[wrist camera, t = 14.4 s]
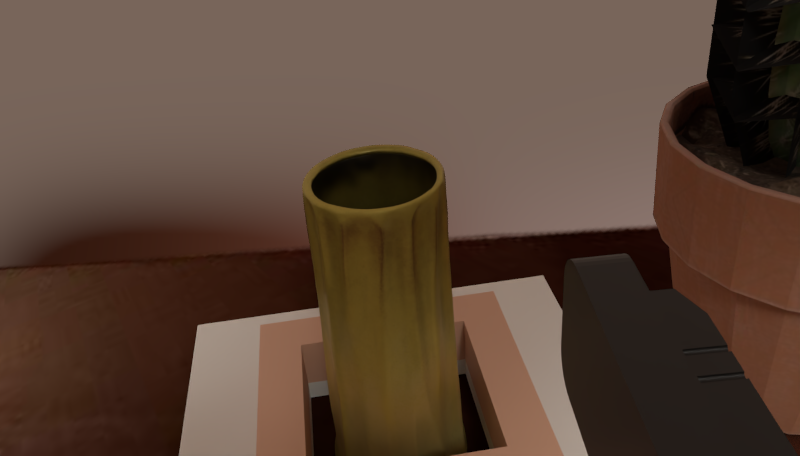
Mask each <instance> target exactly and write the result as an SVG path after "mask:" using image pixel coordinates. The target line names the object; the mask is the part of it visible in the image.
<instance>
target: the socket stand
mask: <svg viewBox="0 0 800 456" xmlns="http://www.w3.org/2000/svg"><path fill="white" fill-rule="evenodd" d="M452 297H453V311H454V325H455V337H456V350H457V365H458V375H460V374H466V377H467V380H468V383H469V386H470V389H471V392H472V396H473V399H474V402H475V405H476V408H477V411H478V414H479V417H480V421H481V424H482V427H483V430H484V433H485V436H486V439H487V442H488V446H489V449H488V450H482V451H476V452H470V453H464V454H458V455H452V456H588V454H587V451H586V448H585V445H584V442H583V439H582V436H581V433H580V430H579V427H578V424H577V421H576V418H575V415H574V412H573V409H572V406H571V403H570V400H569V397H568V394H567V390H566V386H565V382H564V376H563V370H562V360H561V335H562V313H563V311H562V309H561V308H560V306H559V304H558V302H557V300H556V298H555V296H554V295H553V293H552V291H551V289H550V287H549V285H548V284H547V282H546V280H545V278H544V276H543V275H541V276H534V277H528V278H521V279H514V280H507V281H500V282H493V283H486V284H479V285H472V286H465V287H458V288H452ZM324 395H329V390H328V382H327V373H326V363H325V355H324V347H323V338H322V329H321V320H320V312H319V308H313V309H306V310H299V311H293V312H286V313H279V314H272V315H265V316H258V317H251V318H244V319H237V320H230V321H223V322H216V323H210V324H203V325H198V328H197V335H196V342H195V348H194V355H193V362H192V369H191V376H190V382H189V389H188V396H187V403H186V410H185V416H184V423H183V430H182V437H181V444H180V451H179V456H314V445H313V427H312V409H311V397H318V396H324Z"/></svg>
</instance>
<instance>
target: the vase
mask: <svg viewBox="0 0 800 456" xmlns="http://www.w3.org/2000/svg"><path fill="white" fill-rule="evenodd" d="M302 189H303V202H304V210H305V217H306V224H307V231H308V237H309V243H310V249H311V255H312V261H313V268H314V275H315V283H316V290H317V296H318V303H319V312H320V320H321V329H322V338H323V347H324V355H325V363H326V373H327V382H328V390H329V398H330V405H331V410H332V415H333V420H334V425H335V431H336V439H335V456H452V455H458V454H464V453H467V439H466V434H465V429H464V425H463V421H462V407H461V395H460V384H459V375H458V365H457V350H456V337H455V325H454V311H453V297H452V285H451V270H450V254H449V239H448V212H447V198H446V182H445V173H444V169H443V167H442V165H441V163H440V162H439V161H438V160H437V159H436V158H435V157H434V156H432V155H431V154H429V153H427V152H424V151H421V150H418V149H414V148H411V147H407V146H401V145H371V146H364V147H359V148H354V149H349V150H346V151H343V152H340V153H338V154H335V155H333V156H331V157H328V158H327V159H325V160H323V161H321V162H320V163H318V164H317V165H315V166H314V167H313V168H312V169H311V170H310V171H309V172H308V173H307V175H306V176H305V178H304V182H303V185H302Z"/></svg>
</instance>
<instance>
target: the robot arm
mask: <svg viewBox="0 0 800 456" xmlns="http://www.w3.org/2000/svg"><path fill="white" fill-rule="evenodd" d="M561 360H562V370H563V376H564V382H565V386H566V390H567V394H568V397H569V400H570V403H571V406H572V409H573V412H574V415H575V418H576V421H577V424H578V427H579V430H580V433H581V436H582V439H583V442H584V445H585V448H586V451H587V454H588V456H798V455H797V453H796V452H795V450H794V449H793V447H792V445H791V444H790V442H789V441H788V439H787V437H786V436H785V434H784V433H783V431H782V430H781V428H780V426H779V425H778V423H777V422H776V420H775V419H774V417H773V415H772V414H771V412H770V411H769V409H768V408H767V406H766V404H765V403H764V401H763V400H762V398H761V397H760V395H759V393H758V392H757V390H756V389H755V387H754V386H753V384H752V382H751V381H750V379H749V378H748V379H746V378H745V374H744V372H745V371H744V370H743V368H742V367H741V365H740V364H739V362H738V360H737V359H736V357H735V356H734V354H733V353H732V351H728V345H727V343H726V342H725V340H724V338H723V337H722V335H721V334H720V332H719V331H718V329H717V327H716V326H715V324H714V323H713V321H712V320H711V318H710V316H709V315H708V313H706V312H705V311H704V310H702V309H701V308H700V307H698V306H697V305H696V304H694V303H693V302H692V301H690V300H689V299H688V298H686V297H685V296H684V295H682V294H681V293H680V292H678V291H677V290H676V289H664V290H654V291H649V289H648V287H647V285H646V284H645V282H644V280H643V278H642V276H641V275H640V273H639V271H638V269H637V267H636V266H635V264H634V262H633V260H632V259H631V257H630V256H629V255H628V254H614V255H605V256H595V257H585V258H575V259H568V260H567V262H566V265H565V271H564V290H563V313H562V335H561Z"/></svg>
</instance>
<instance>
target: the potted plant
mask: <svg viewBox="0 0 800 456" xmlns="http://www.w3.org/2000/svg"><path fill="white" fill-rule="evenodd" d="M712 26H713V33H712V40H711V48H710V55H709V62H708V69H707V79H708V81H706V82H703V83H700V84H697V85H694V86H691V87H688V88H687V89H686V90H684V91H683V92H682V93H680V94H679V95H678V96H676V97H675V98H674V99H672V100H671V101H669V102H668V103H667V104H666V106H665V109H664V112H663V115H662V118H661V121H660V127H659V142H658V155H657V169H656V182H655V183H656V184H655V196H654V211H653V216H654V219H655V222H656V224H657V227H658V230H659V232H660V235H661V238H662V240H663V241H664V242H665V243H666V244H667V245H668V246H669V251H670V262H671V273H672V284H673V289H676V290H677V291H678V292H680V293H681V294H682V295H684V296H685V297H686V298H688V299H689V300H690V301H692V302H693V303H694V304H696V305H697V306H698V307H700V308H701V309H702V310H704V311H705V312H706V313H708V315H709V316H710V318H711V320H712V321H713V323H714V324H715V326H716V327H717V329H718V331H719V332H720V334H721V335H722V337H723V338H724V340H725V342H726V343H727V345H728V351H732V353H733V354H734V356H735V357H736V359H737V360H738V362H739V364H740V365H741V367H742V368H743V370H744V371H745V372H744V374H745V378H746V379H748V378H749V379H750V381H751V382H752V384H753V386H754V387H755V389H756V390H757V392H758V393H759V395H760V397H761V398H762V400H763V401H764V403H765V404H766V406H767V408H768V409H769V411H770V412H771V414H772V415H773V417H774V419H775V420H776V422H777V423H778V425H779V426H780V428H781V430H782V431H783V433H786V434H796V435H800V0H717V5H716V12H715V19H714V24H713V25H712Z"/></svg>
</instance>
